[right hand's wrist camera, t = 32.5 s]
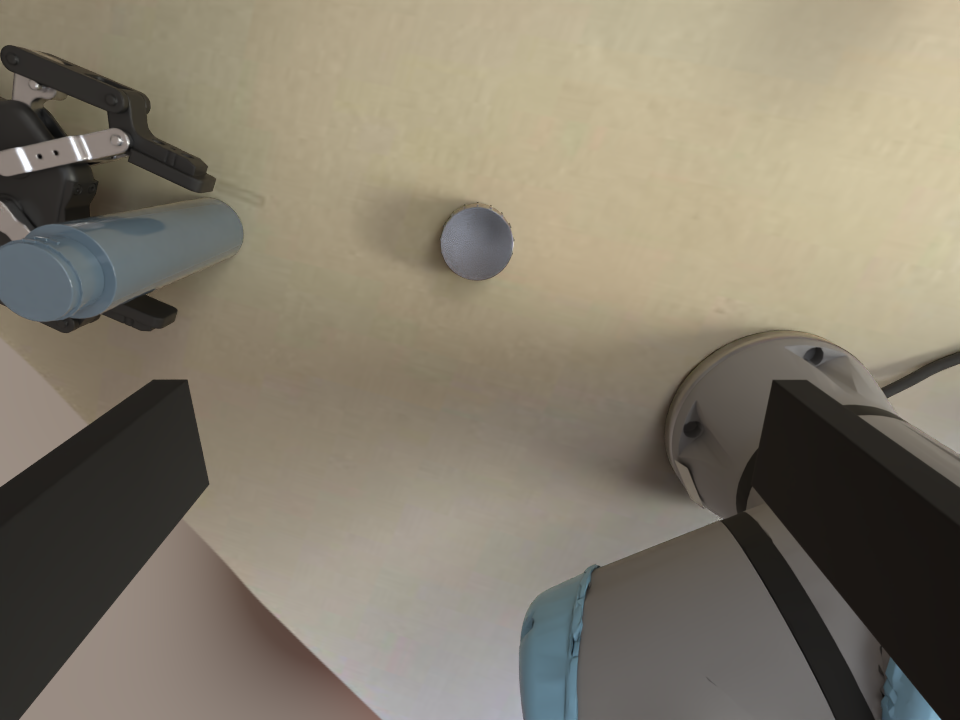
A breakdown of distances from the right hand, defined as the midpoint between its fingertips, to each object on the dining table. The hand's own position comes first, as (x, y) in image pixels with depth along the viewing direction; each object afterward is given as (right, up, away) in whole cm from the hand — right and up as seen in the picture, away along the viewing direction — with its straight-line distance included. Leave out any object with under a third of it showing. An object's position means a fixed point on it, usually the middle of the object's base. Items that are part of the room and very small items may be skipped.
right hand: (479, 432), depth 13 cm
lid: (0, +9, +23) cm, 25 cm away
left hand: (-17, +8, +19) cm, 26 cm away
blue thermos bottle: (-18, +11, +24) cm, 32 cm away
